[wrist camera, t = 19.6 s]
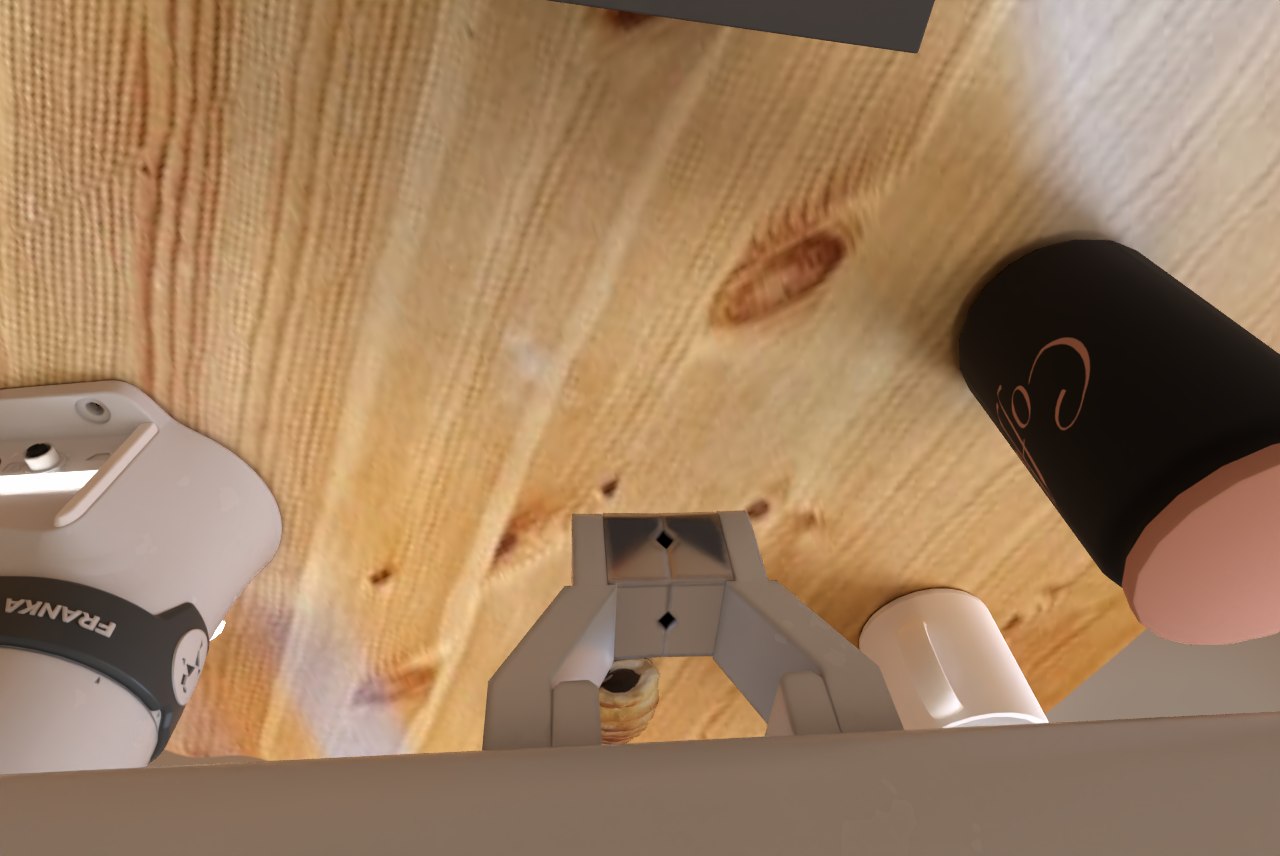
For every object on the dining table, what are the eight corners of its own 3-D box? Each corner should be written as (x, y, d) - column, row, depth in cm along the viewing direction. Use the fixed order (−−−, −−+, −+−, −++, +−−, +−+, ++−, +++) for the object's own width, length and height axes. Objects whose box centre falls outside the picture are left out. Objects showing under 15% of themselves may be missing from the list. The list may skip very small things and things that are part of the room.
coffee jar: (964, 243, 40) (1183, 467, 26) (1170, 216, 40) (1506, 426, 26) (938, 408, 46) (1100, 661, 32) (1115, 386, 46) (1357, 629, 32)
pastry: (649, 723, 65) (652, 767, 62) (568, 724, 64) (567, 768, 61) (660, 654, 59) (664, 698, 56) (571, 654, 58) (570, 698, 55)
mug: (1004, 636, 61) (1071, 760, 53) (886, 684, 64) (932, 809, 55) (951, 547, 54) (1018, 673, 46) (822, 605, 57) (863, 733, 49)
